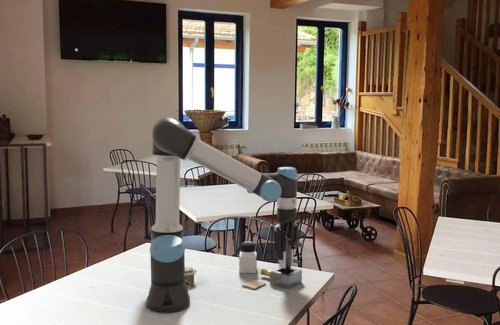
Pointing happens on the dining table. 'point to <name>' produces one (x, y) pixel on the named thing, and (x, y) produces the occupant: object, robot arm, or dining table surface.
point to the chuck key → (288, 253)
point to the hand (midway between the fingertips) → (286, 266)
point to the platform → (189, 275)
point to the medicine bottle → (247, 258)
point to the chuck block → (283, 277)
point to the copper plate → (254, 284)
